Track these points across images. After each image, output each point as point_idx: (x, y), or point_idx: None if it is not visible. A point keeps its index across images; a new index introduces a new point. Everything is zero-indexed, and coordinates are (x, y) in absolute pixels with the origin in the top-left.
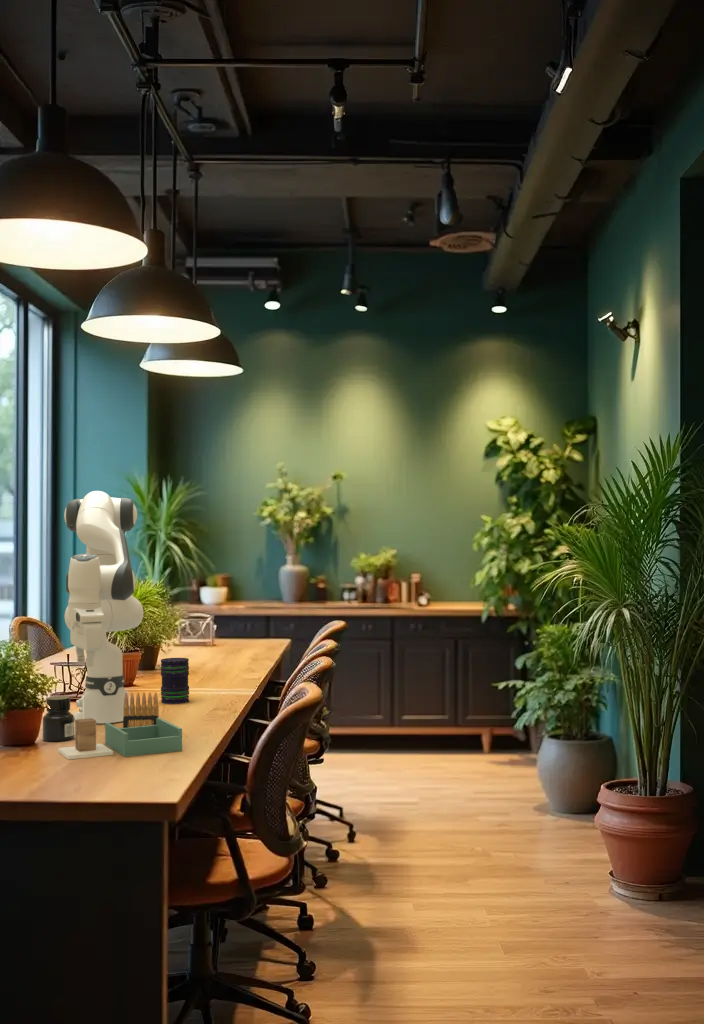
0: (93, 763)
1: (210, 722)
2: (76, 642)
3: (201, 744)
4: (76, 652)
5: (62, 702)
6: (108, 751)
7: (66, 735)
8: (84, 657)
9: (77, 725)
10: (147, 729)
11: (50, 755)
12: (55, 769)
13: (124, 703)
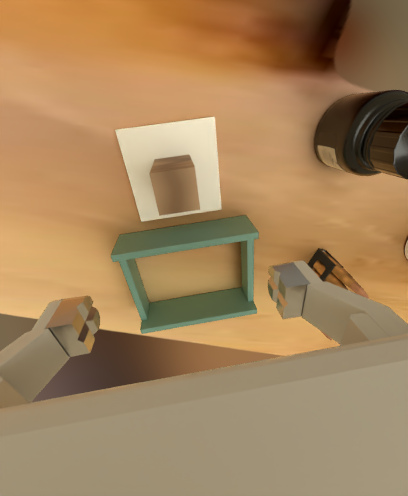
0: (68, 177)
1: (315, 342)
2: (290, 408)
3: (181, 327)
4: (350, 295)
5: (385, 151)
6: (140, 213)
7: (319, 149)
8: (279, 311)
9: (168, 167)
10: (246, 286)
11: (178, 91)
12: (6, 83)
13: (351, 281)
